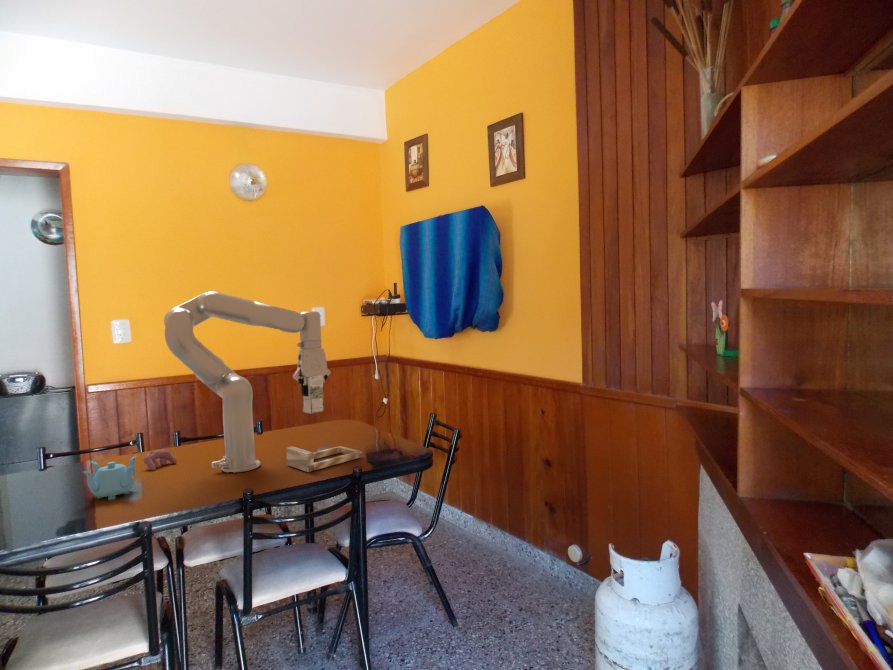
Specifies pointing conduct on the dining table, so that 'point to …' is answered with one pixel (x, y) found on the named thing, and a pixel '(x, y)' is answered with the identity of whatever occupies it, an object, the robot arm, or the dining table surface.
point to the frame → (306, 458)
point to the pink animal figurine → (162, 454)
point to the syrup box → (314, 395)
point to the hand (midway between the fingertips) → (313, 394)
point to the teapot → (111, 479)
